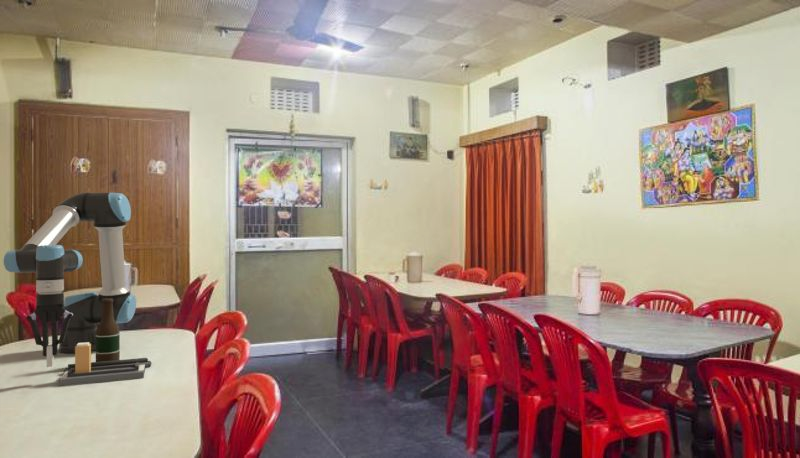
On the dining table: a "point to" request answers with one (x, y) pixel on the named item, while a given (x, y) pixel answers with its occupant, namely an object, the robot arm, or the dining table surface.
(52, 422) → the dining table surface
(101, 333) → the beer bottle
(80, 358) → the block
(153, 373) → the dining table surface
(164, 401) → the dining table surface
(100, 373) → the grey rectangular tray
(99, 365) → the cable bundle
